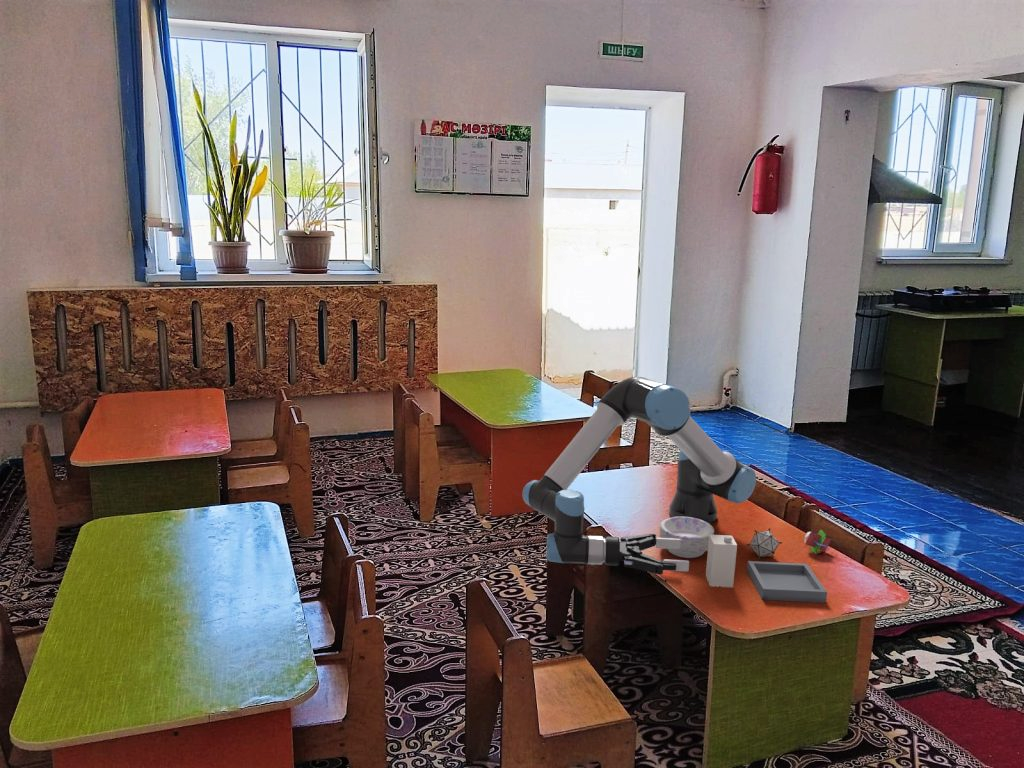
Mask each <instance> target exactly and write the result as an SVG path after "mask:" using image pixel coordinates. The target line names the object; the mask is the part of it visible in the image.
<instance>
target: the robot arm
mask: <svg viewBox="0 0 1024 768" xmlns="http://www.w3.org/2000/svg"><path fill="white" fill-rule="evenodd" d="M689 405H690V400H689V397H688V395H687V393H686V392H684V391H683V390H682V389H681V388H679V387H677V386H674V385H673V384H669V383H662V382H658V381H656V380H651V379H648V378H645V377H642V376H630V377H628V378H625V379H623V380H621V381H619V382H618V383H617V384H615V385H614V386H613V387H611V388H610V389H609V390H608V391H607V392H606V393H605V394H603V396H602V397H601V398H600V399H599V400H598V402H597V403H596V410H595V411H594V413H593V414H592V415H591V416H590V417H589V418H588V420H587V421H586V422H585V424H584V425H583V426H582V427H581V428H580V430H579V431H578V432H577V433H576V435H575V436H574V437H573V438H572V440H571V441H570V442H569V444H567V446H566V447H565V448H564V449H563V451H562V452H561V453H560V455H559V456H558V457H557V458H556V460H555V461H554V462H553V463H552V464H551V466H550V467H549V468H548V469H547V470H546V472H545V473H544V474H543V476H542V477H541V478H540V480H537V479H533V480H531V481H529V482H527V483H526V484H525V486H524V487H523V490H522V500H523V501H524V503H525V504H526V505H528V506H529V507H530V508H531V509H532V510H534V511H536V512H539V513H540V514H542V515H544V516H545V517H547V518H549V520H552V521H553V522H554V531H553V532H552V533H548V534H547V536H546V549H545V552H546V554H545V556H546V557H545V558H546V560H547V561H548V562H553V563H559V564H560V563H561V564H584V565H591V566H595V565H603V564H604V565H605V566H619V564H620V561H622V562H624V563H623V566H624V567H625V568H631V569H637V570H640V571H644V572H648V573H651V574H655V575H663V573H664V571H673V572H689V569H690V561H689V560H688V559H687V560H683V559H669V558H668V559H666V558H665V559H663V560H660V559H658V558H655V557H653V556H650V555H648V554H645V553H643V552H642V551H644V550H647V549H650V548H653V547H655V548H656V549H667V548H668V549H680V543H681V539H674V538H660V537H657V534H656V533H645V534H639V535H633V536H620V538H619V537H618V536H606V537H603V535H585V534H583V531H584V530H583V529H584V528H583V527H584V517H585V516H584V514H585V496H584V495H583V493H582V492H580V491H579V490H573V489H569V488H570V486H571V485H572V483H573V482H575V480H576V479H577V477H578V476H579V475H580V473H582V471H584V468H586V467H587V466H588V464H589V463H590V461H591V460H592V459H593V457H594V456H595V455H596V453H598V451H599V450H600V449H601V447H602V446H603V445H604V444H605V442H606V441H607V440H608V439H609V437H610V436H611V435H612V434H613V432H614V431H615V430H616V429H617V427H619V426H624V424H625V423H626V422H627V421H628V420H629V419H631V418H633V419H636V420H639V421H642V422H645V424H647V425H648V426H649V427H650V428H652V430H653V431H655V433H656V434H657V435H659V436H661V437H668V438H669V440H671V442H673V444H674V445H675V446H676V447H677V448H678V449H679V455H678V459H677V475H676V477H677V479H676V490H675V493H674V495H673V497H672V500H671V502H670V505H669V510H668V511H669V512H668V513H669V515H670V517H692V518H697V519H700V520H703V521H705V522H707V523H709V524H711V523H714V522H715V521H716V520H717V517H718V511H717V506H716V500H715V497H714V495H715V496H717V497H719V498H722V499H724V500H726V501H728V502H730V503H734V504H742V503H744V502H745V501H747V500H748V499H749V498H750V497H751V495H752V494H753V491H754V489H755V487H756V482H757V475H756V472H755V470H754V469H753V468H752V467H750V466H748V465H743V464H742V463H740V461H739V460H738V459H737V458H736V457H735V456H734V455H733V454H732V453H730V452H729V451H723V450H722V449H721V448H720V447H719V446H718V445H717V444H716V443H715V442H714V441H713V439H712V438H711V437H710V436H709V434H707V433H706V432H705V431H704V430H703V429H702V428H701V426H699V424H698V423H697V422H696V421H695V420H694V419H693V418H692V417H691V406H689ZM668 549H667V550H668Z"/></svg>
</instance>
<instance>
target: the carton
mask: <svg viewBox="0 0 1024 768" xmlns="http://www.w3.org/2000/svg"><path fill="white" fill-rule="evenodd" d="M737 549H738V544H737V542H736V540H735V539H734V537H733V535H729V534H728V535H727V534H726V535H725V534H724V535H723V534H714V535H709V544H708V550H707V557H706V566H705V567H706V569H705V578H706V577H707V578H706V579H707V583H708V582H709V583H708V585H709V587H715V586H716V587H715V588H717V587H718V588H719V586H721V587H720V588H734V583H735V582H734V581H735V580H734V579H735V571H736V560H737V551H738V550H737Z"/></svg>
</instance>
